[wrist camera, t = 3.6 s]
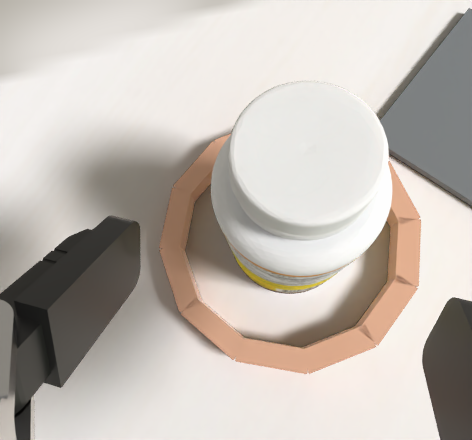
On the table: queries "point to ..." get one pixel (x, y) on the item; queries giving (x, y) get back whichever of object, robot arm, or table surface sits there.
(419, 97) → the mat
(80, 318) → the robot arm
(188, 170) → the faceted open ring
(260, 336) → the table surface
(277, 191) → the supplement bottle
